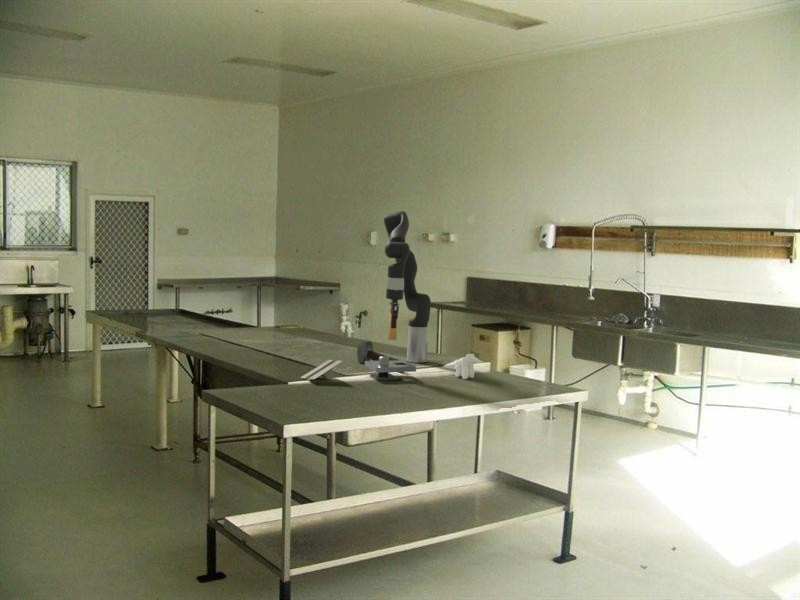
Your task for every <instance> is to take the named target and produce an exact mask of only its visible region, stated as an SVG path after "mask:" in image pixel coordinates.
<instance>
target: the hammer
mask: <svg viewBox="0 0 800 600" xmlns="http://www.w3.org/2000/svg"><path fill="white" fill-rule="evenodd" d="M380 356H386V357H389V361H400V360H399V359H397V358H394V357H393V356H392V357H391V356H388V355H385V354H383V353H380V352H377V351H374V345H373V342H372V340H370V339H361V340H360V341H359V343H358V345H357V349H356V357H357V358H356V359H357V361H358V363H359V364H363V365H364V364H365V361H379V357H380ZM397 373H400V374H401V373H402V372H397Z"/></svg>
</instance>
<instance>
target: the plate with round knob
mask: <svg viewBox="0 0 800 600" xmlns="http://www.w3.org/2000/svg"><path fill="white" fill-rule="evenodd" d="M386 356H387V355H386ZM386 356H380V357H379V361H373V360H370V361H365V363H364V366H365V367H366V368H368V369H370V370H372V371H373V372H375V373H369V376H370V378H373V379H374V380H375V381H386V380H387V381H390V380H393V381H394V380H397V377H396V376H395V375H393V374H391V373H398V372H401V373H407V372H408V373H411V372H413V373H414V372H417V366H416V365H413V364H411V363H410V362H408V361H406V360H399V361H389V357H390V356H389V357H386Z"/></svg>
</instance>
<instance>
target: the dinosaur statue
mask: <svg viewBox="0 0 800 600" xmlns="http://www.w3.org/2000/svg"><path fill="white" fill-rule="evenodd" d="M483 362H484V361H483V360H481V359H479V358H478V357H476V356H475V354H474V353H467V354H466V355H465V356H463V357H461V358H459V359H458V358H455V359H454V360H453V361H451V362H449V363H448V362H447V363H446V364H445V365H442V368H447V369H451V370H452V369H453V370H455V377H456V378H460V377H461V379H463V380H467V379H474V376H475V367H474V364H475V363H476V364H477V363H478V364H483Z"/></svg>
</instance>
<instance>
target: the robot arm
mask: <svg viewBox="0 0 800 600" xmlns="http://www.w3.org/2000/svg"><path fill="white" fill-rule="evenodd" d="M383 224H384V226H385V227H384V228H385V230H386V233H387V236H388V241H387V242H386V244H385V246H384V254H385V256H386V258H389V259H394V261H395V263H391V264H388V268H387V280H386V292H385V298H386V299H387V300H391V301H390V302H389V305H388V306H389V307H390V310H389V309H388V310H389V315H390V314H391V328H396V321H397V322H398V317H399V311H398V309H400V303H398V301H401V300H404V301H405V305H406V308H407V309H408V310H409V311H411V312H412V313H413V312H414V313H415V316H414V317H413V318H411V319H409V320H408V326H407V327H408V329H407V345H406V346H407V347H406V362H407V363H417V364H418V363H423V364H424V363H427V362H428V352H429V350H428V349H429V342H427V340H428V339H427V337H428V323H429V322H430V318H431V317H430V316H431V307H432V304H431V297H430V295H428V294H427V293H419V292H418V291H417V289H416V284H415V280H416V277H417V273H418V264H417V260H416V257H415V254H414V253H413V251H412V250H411V249H410V245H409V244H408V243H407V242H406V237H407V234H408V231H409V227H410V221H409V217H408V215H407V212H406V211H403V210H401V211H395V212H391V213H388V214H385V215H384V216H383ZM389 307H388V308H389ZM393 314H396V316H393Z"/></svg>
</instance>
